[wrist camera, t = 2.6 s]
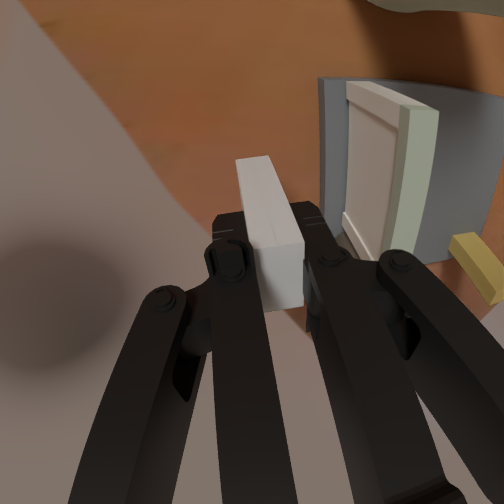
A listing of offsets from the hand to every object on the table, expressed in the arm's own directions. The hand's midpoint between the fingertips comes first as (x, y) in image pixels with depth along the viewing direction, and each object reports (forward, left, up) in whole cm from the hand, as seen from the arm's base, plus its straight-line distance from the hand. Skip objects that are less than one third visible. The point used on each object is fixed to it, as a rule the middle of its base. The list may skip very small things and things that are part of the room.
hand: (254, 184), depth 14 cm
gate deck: (-13, +4, -6) cm, 15 cm away
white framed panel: (-7, +1, -4) cm, 8 cm away
